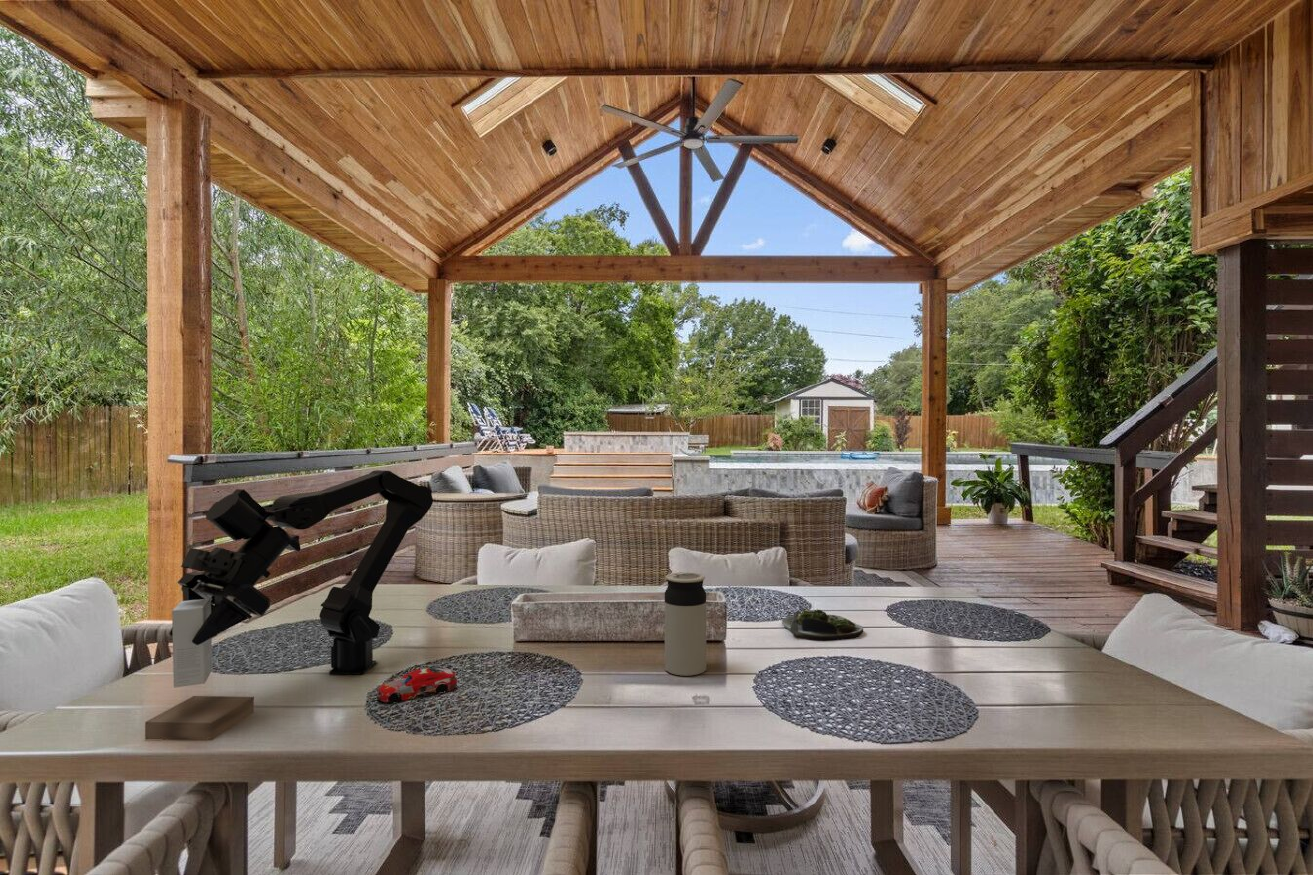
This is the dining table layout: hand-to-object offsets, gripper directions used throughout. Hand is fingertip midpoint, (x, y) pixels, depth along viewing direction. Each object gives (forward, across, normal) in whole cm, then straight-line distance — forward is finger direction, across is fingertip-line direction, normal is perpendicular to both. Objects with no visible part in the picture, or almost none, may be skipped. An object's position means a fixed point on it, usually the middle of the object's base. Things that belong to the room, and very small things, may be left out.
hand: (182, 639), depth 104 cm
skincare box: (+4, 0, +6) cm, 7 cm away
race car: (-10, +20, +30) cm, 37 cm away
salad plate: (-61, +68, +82) cm, 123 cm away
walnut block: (+9, +2, +11) cm, 14 cm away
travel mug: (-34, +55, +54) cm, 84 cm away
